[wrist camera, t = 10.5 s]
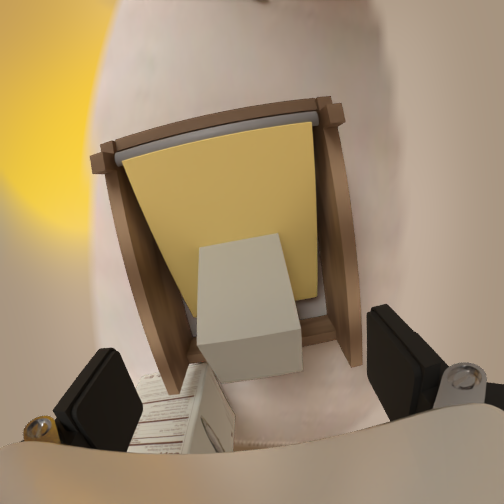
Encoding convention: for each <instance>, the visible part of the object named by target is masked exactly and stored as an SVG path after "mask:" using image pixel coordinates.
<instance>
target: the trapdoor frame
mask: <svg viewBox="0 0 504 504" xmlns="http://www.w3.org/2000/svg"><path fill="white" fill-rule="evenodd" d="M312 111H316V112H317V114H318V119H319V125H318V126H312V132H313V147H314V164H315V184H316V211H317V235H318V242H319V249H320V257H321V265H322V273H323V281H324V290H325V299H326V308H327V315H324V316H319V317H314V318H309V319H304V320H299V322H300V326H301V337H302V347H304V346H309V345H314V344H319V343H323V342H328V341H332V340H337V341H338V343H339V345H340V347H341V349H342V351H343V353H344V355H345V357H346V359H347V360H348V362H349V364H350V366H351V368H352V367H356V366H360V365H362V324H361V304H360V288H359V275H358V264H357V253H356V243H355V234H354V226H353V218H352V210H351V203H350V196H349V189H348V182H347V176H346V170H345V164H344V159H343V153H342V148H341V142H340V137H339V132H338V126H339V125H341V124H343V123H344V122H345V117H344V112H343V108H342V103H336V104H332V100H331V96H326V97H317V98H316V99H315V98H309V99H300V100H291V101H284V102H276V103H269V104H263V105H256V106H250V107H244V108H239V109H233V110H228V111H223V112H218V113H213V114H209V115H204V116H200V117H195V118H191V119H187V120H183V121H179V122H175V123H171V124H167V125H163V126H160V127H156V128H152V129H149V130H145V131H142V132H139V133H135V134H132V135H129V136H126V137H123V138H120V139H116V140H115V141H109V142H106V143H103V144H100V147H101V152H100V153H97V154H94V155H91V156H90V160H91V167H92V173H93V174H105V178H106V184H107V189H108V195H109V200H110V205H111V210H112V214H113V219H114V224H115V228H116V232H117V237H118V241H119V245H120V249H121V253H122V257H123V261H124V265H125V268H126V272H127V276H128V279H129V283H130V286H131V290H132V293H133V296H134V300H135V303H136V306H137V309H138V313H139V316H140V319H141V322H142V325H143V328H144V331H145V334H146V337H147V340H148V342H149V345H150V348H151V351H152V354H153V356H154V359H155V362H156V364H157V367H158V370H159V372H160V375H161V377H162V380H163V382H164V385H165V387H166V390H167V392H168V395H177V394H180V391H181V388H182V385H183V381H184V378H185V375H186V372H187V369H188V366H189V364H191V363H200V362H207V361H206V359H205V358H204V356H203V354H202V353H201V351H200V350H199V348H198V346H197V337H192V333H191V330H190V326H189V323H188V319H187V316H186V312H185V309H184V305H183V301H182V298H181V294H180V290H179V288H178V286H177V284H176V282H175V280H174V278H173V276H172V274H171V272H170V270H169V268H168V266H167V264H166V262H165V260H164V258H163V256H162V253H161V251H160V249H159V247H158V245H157V243H156V241H155V238H154V236H153V234H152V232H151V230H150V227H149V225H148V223H147V221H146V218H145V216H144V214H143V212H142V209H141V207H140V205H139V202H138V200H137V198H136V195H135V193H134V190H133V188H132V186H131V183H130V181H129V178H128V176H127V173H126V171H125V168H124V166H120V167H119V166H117V164H116V162H115V153H117V152H120V151H123V150H127V149H130V148H133V147H137V146H140V145H144V144H147V143H151V142H154V141H158V140H162V139H165V138H169V137H173V136H177V135H181V134H185V133H189V132H194V131H198V130H203V129H207V128H212V127H217V126H221V125H226V124H232V123H237V122H242V121H248V120H254V119H260V118H266V117H273V116H280V115H287V114H295V113H303V112H312Z"/></svg>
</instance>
